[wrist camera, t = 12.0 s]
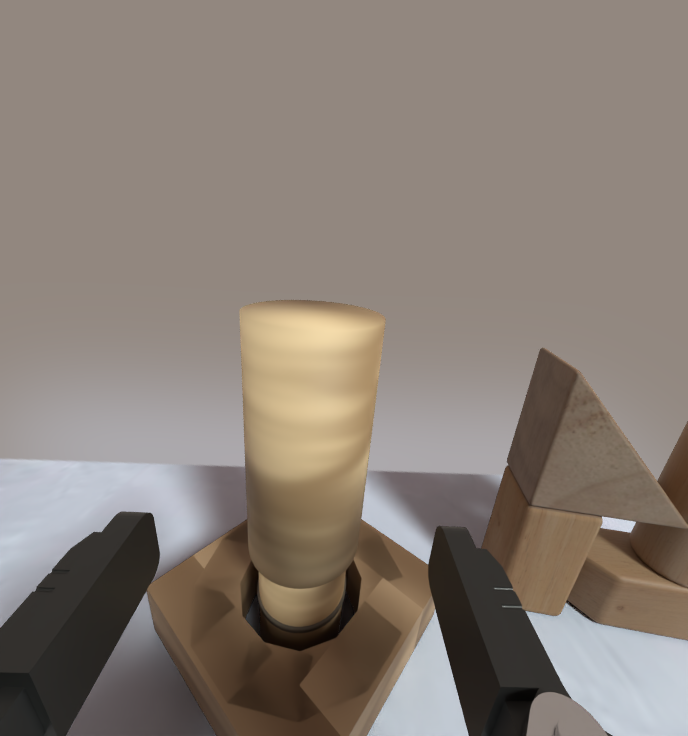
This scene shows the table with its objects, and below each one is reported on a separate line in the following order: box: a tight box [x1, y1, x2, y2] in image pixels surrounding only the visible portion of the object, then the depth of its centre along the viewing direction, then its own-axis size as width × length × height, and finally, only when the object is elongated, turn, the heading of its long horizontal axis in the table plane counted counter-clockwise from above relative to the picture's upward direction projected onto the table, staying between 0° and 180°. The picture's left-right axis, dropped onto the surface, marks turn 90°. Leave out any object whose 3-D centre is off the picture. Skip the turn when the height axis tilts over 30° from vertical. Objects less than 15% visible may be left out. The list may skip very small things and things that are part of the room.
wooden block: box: [481, 348, 688, 640], centre depth 16 cm, size 4×11×18 cm, turn 82°
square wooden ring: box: [147, 519, 435, 736], centre depth 16 cm, size 10×10×3 cm
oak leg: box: [240, 300, 385, 651], centre depth 14 cm, size 5×5×16 cm
